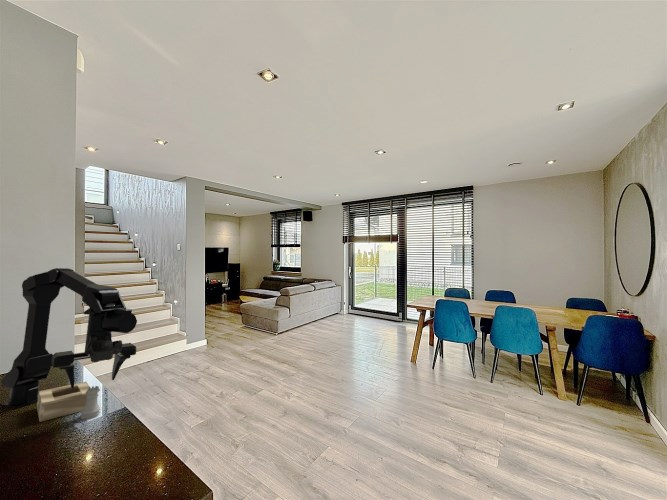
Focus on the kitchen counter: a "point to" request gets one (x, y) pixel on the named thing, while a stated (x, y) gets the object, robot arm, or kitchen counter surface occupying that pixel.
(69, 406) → the box
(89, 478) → the kitchen counter surface
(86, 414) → the rook chess piece
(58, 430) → the kitchen counter surface
